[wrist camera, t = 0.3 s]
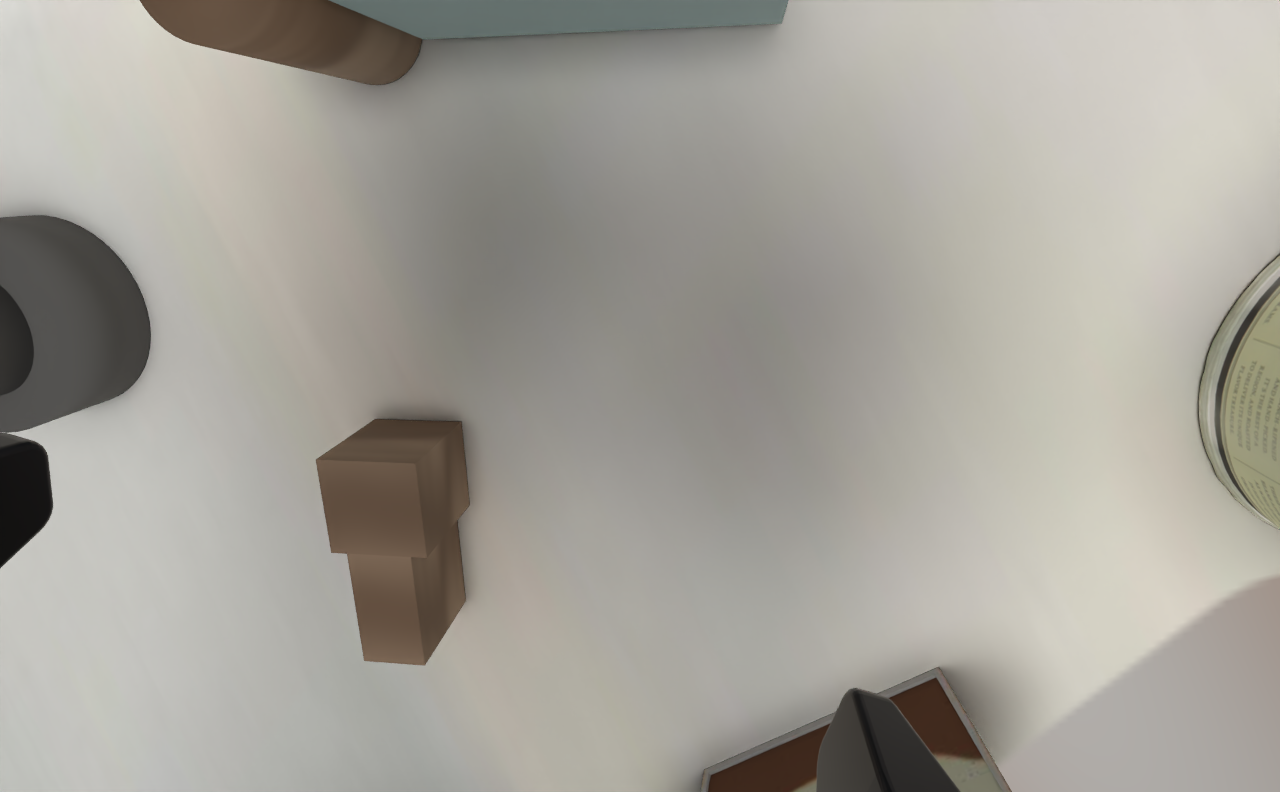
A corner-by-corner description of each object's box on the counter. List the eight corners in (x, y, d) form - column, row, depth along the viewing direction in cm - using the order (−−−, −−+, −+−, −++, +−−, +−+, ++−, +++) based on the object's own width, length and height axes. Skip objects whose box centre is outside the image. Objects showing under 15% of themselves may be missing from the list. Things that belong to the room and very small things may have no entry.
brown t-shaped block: (312, -31, 20) (106, -128, 13) (415, -37, 19) (254, -141, 13) (399, 596, 26) (286, 739, 19) (479, 601, 25) (390, 748, 19)
